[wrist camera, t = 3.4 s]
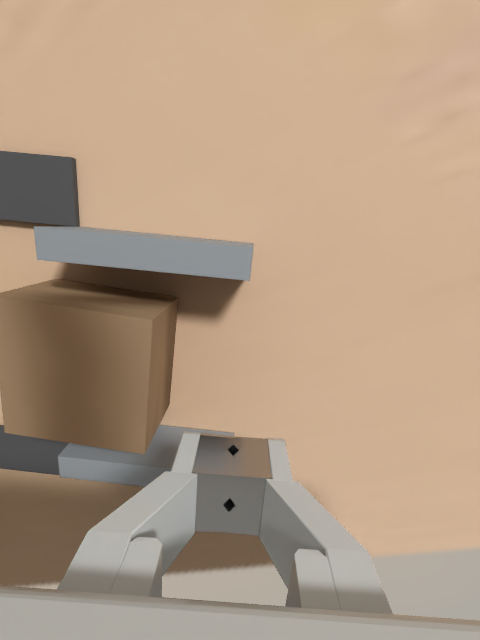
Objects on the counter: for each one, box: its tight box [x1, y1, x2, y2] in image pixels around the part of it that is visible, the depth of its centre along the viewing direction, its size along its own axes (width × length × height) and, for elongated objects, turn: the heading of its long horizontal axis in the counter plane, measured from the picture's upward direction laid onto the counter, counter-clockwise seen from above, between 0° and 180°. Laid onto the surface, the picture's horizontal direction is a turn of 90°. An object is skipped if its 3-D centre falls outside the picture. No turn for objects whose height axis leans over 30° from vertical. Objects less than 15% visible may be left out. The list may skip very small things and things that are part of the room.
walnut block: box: [0, 279, 178, 455], centre depth 14 cm, size 6×6×4 cm
